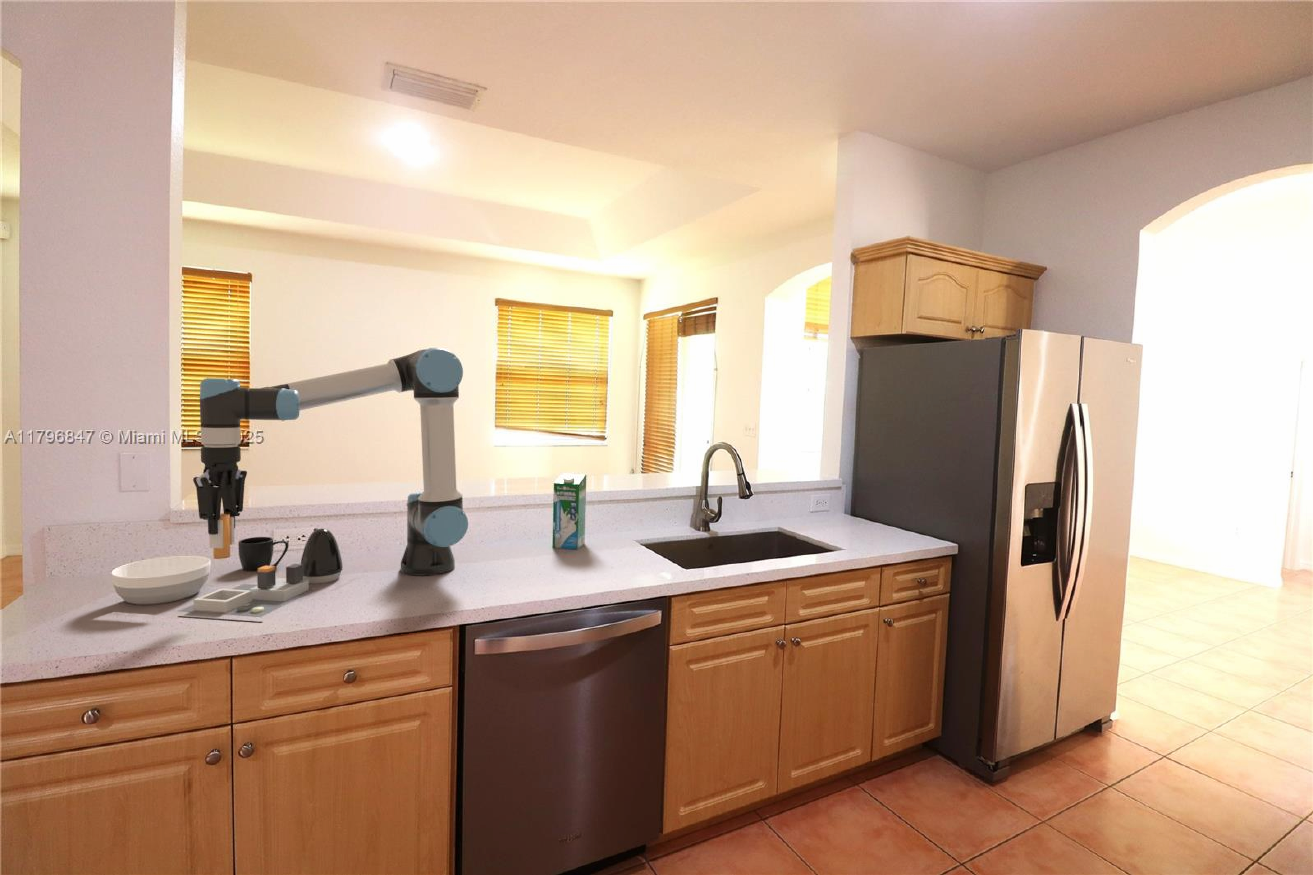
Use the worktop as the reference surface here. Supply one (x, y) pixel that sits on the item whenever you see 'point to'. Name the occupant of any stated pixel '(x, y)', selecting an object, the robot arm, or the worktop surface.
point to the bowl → (161, 579)
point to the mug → (258, 552)
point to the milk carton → (569, 511)
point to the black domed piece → (321, 557)
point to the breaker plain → (294, 573)
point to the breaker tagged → (266, 577)
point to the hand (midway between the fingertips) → (222, 545)
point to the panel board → (248, 600)
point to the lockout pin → (224, 539)
